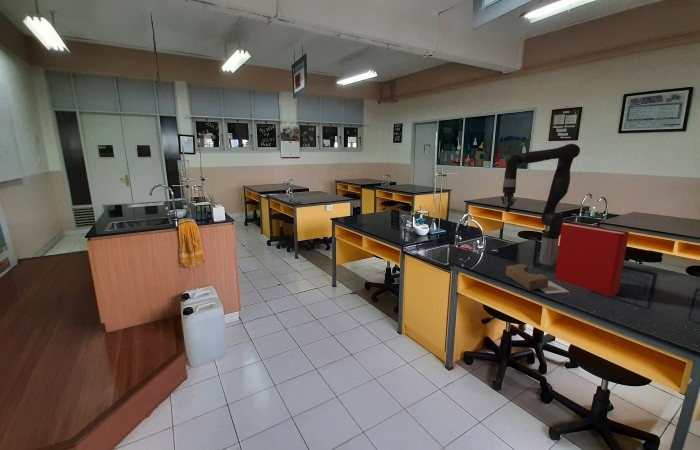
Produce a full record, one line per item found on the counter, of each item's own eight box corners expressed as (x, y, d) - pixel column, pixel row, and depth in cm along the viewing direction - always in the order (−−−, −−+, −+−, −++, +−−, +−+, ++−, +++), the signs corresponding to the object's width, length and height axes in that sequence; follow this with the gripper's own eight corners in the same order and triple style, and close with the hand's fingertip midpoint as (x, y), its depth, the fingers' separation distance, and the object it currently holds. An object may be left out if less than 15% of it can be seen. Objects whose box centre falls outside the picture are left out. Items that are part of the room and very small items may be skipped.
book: (554, 278, 182) (561, 224, 175) (562, 276, 186) (569, 222, 179) (612, 296, 159) (622, 234, 152) (619, 292, 163) (630, 231, 156)
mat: (540, 276, 186) (540, 274, 185) (569, 292, 164) (569, 289, 164) (520, 277, 185) (521, 275, 184) (547, 293, 163) (547, 291, 163)
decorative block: (523, 263, 186) (549, 277, 167) (522, 272, 188) (548, 287, 169) (505, 265, 185) (530, 280, 166) (505, 274, 186) (529, 290, 167)
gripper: (521, 186, 203) (518, 213, 206) (509, 184, 215) (506, 210, 219) (510, 186, 202) (507, 213, 206) (498, 185, 215) (496, 210, 219)
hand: (507, 211), depth 212 cm, fingers closed
